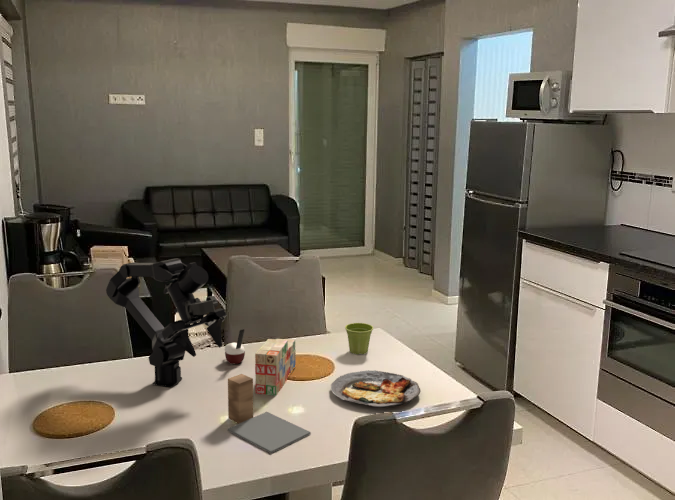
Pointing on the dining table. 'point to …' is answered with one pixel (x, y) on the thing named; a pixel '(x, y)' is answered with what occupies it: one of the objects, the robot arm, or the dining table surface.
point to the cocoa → (235, 350)
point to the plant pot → (358, 337)
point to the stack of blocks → (274, 365)
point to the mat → (269, 432)
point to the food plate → (375, 388)
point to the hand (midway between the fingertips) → (208, 351)
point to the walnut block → (240, 398)
